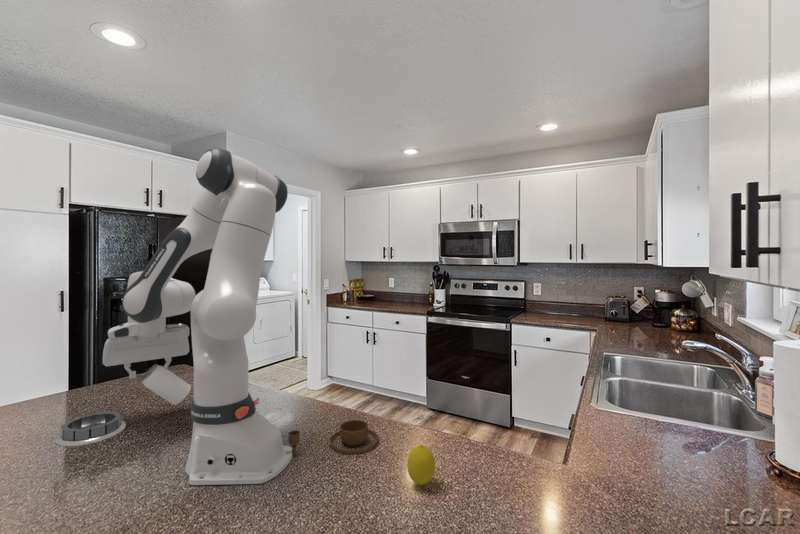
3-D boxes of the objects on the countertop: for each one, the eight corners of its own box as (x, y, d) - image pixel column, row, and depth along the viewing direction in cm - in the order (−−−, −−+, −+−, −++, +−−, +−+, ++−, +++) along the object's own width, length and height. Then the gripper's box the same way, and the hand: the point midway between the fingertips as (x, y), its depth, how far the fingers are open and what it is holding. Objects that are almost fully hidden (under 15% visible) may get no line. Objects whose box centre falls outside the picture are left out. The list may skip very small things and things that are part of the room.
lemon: (427, 497, 70) (427, 454, 70) (402, 487, 73) (402, 447, 73) (439, 482, 75) (439, 442, 75) (415, 474, 78) (415, 436, 78)
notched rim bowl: (138, 424, 102) (138, 412, 102) (88, 448, 88) (88, 434, 88) (95, 420, 105) (95, 409, 105) (39, 444, 91) (39, 430, 91)
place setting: (373, 465, 82) (372, 439, 82) (284, 462, 83) (284, 436, 83) (381, 430, 100) (381, 408, 100) (309, 428, 101) (308, 406, 101)
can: (183, 402, 106) (148, 378, 101) (170, 408, 109) (134, 385, 103) (195, 383, 111) (162, 359, 106) (182, 390, 114) (149, 367, 109)
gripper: (187, 321, 114) (188, 366, 114) (101, 330, 101) (103, 380, 101) (191, 323, 109) (192, 370, 109) (101, 333, 96) (102, 386, 96)
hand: (148, 375), depth 105 cm, fingers open, 6 cm apart
